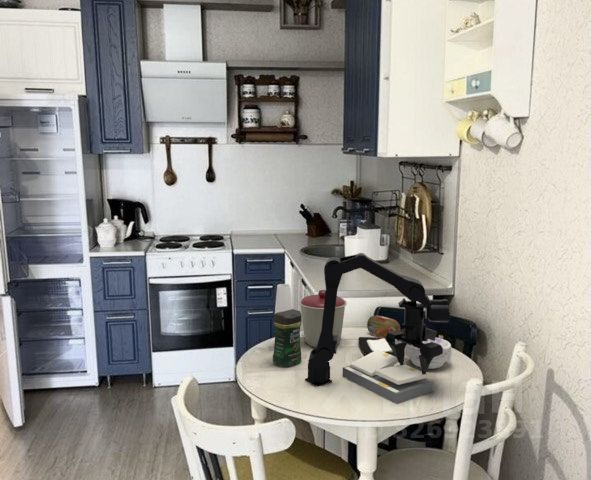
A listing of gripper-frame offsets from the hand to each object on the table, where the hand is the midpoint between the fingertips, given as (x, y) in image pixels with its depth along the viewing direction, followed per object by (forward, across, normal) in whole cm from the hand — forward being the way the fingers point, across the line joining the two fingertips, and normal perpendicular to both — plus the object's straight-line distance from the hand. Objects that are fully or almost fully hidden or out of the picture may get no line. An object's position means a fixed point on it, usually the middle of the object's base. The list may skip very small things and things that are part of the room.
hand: (412, 369), depth 170 cm
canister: (+5, +47, -1) cm, 47 cm away
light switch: (+6, +30, -14) cm, 34 cm away
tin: (+6, +39, -25) cm, 47 cm away
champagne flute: (+5, +51, +14) cm, 53 cm away
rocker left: (0, +12, +5) cm, 13 cm away
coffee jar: (+5, +38, +21) cm, 44 cm away
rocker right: (0, 0, +5) cm, 5 cm away
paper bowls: (+6, +10, -18) cm, 21 cm away
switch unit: (+5, +6, +6) cm, 10 cm away
